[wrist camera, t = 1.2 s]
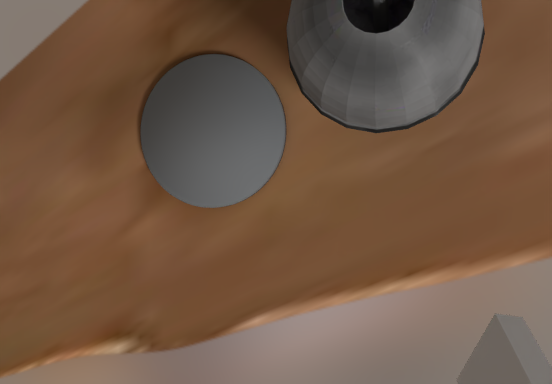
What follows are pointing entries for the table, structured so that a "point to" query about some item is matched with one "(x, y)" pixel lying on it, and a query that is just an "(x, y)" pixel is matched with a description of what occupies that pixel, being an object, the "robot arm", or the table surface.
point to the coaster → (213, 131)
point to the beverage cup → (383, 58)
